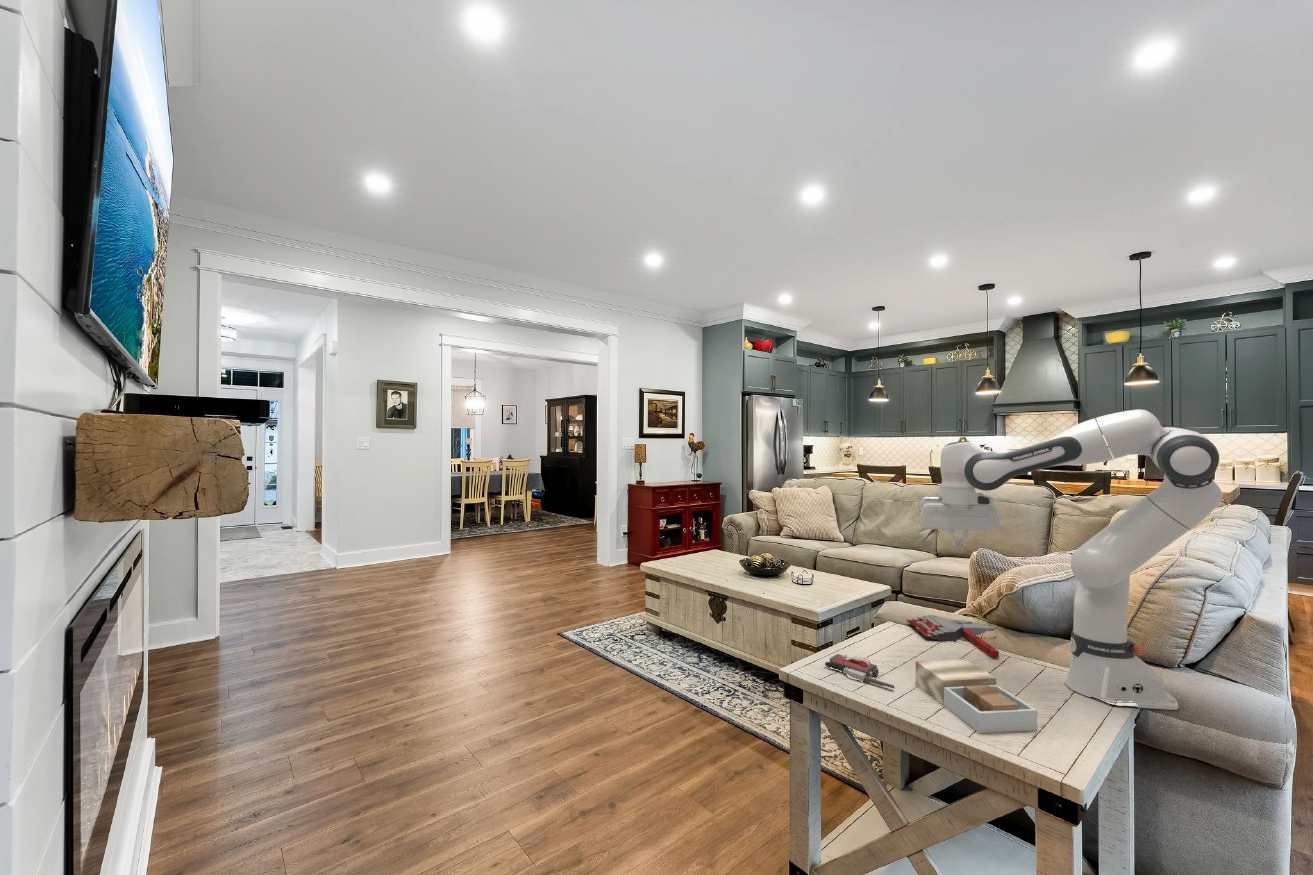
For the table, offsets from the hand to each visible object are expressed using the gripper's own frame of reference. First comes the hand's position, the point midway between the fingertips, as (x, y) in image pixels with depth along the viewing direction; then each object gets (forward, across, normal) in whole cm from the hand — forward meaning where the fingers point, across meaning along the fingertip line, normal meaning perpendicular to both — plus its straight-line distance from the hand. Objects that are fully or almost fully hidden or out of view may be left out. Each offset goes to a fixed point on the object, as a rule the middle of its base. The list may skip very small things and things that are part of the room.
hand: (958, 545), depth 164 cm
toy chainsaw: (+35, -27, -16) cm, 47 cm away
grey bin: (+35, +1, -31) cm, 47 cm away
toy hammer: (+35, +4, +23) cm, 42 cm away
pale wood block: (+35, -5, -19) cm, 40 cm away
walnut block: (+32, -1, -27) cm, 42 cm away
